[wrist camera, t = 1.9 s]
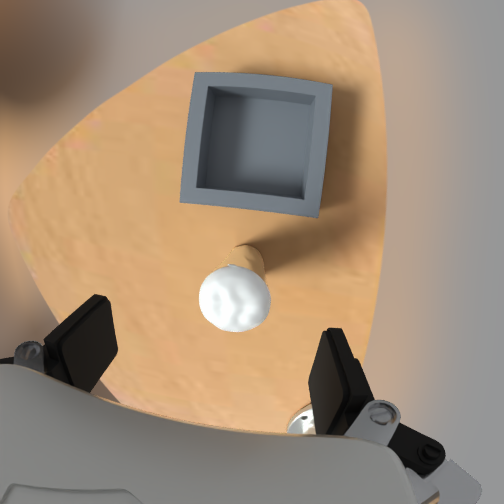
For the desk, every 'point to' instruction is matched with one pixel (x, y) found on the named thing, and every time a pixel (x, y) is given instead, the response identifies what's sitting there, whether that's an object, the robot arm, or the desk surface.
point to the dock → (256, 142)
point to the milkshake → (236, 291)
